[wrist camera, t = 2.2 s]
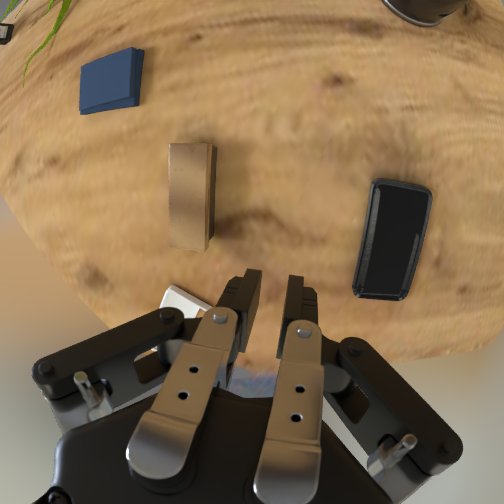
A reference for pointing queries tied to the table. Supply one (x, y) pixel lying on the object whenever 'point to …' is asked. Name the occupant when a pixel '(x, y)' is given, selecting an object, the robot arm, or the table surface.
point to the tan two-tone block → (191, 195)
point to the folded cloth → (111, 82)
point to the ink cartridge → (5, 33)
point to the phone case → (183, 302)
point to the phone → (391, 239)
